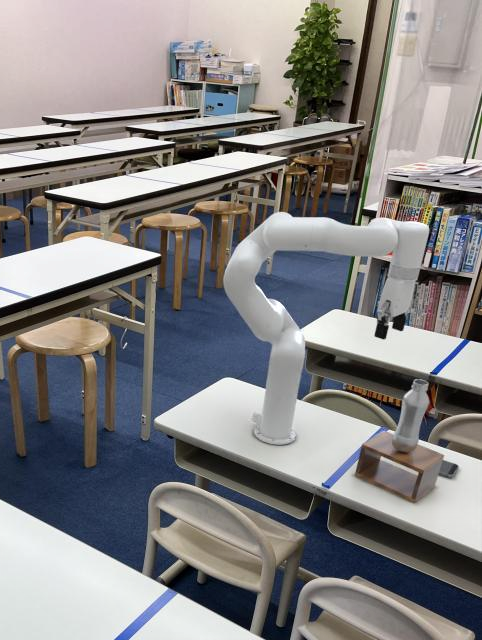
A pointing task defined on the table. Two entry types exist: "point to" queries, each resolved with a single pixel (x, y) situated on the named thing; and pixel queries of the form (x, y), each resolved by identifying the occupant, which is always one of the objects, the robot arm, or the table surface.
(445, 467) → the phone
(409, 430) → the plastic bottle
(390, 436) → the shelf rack
